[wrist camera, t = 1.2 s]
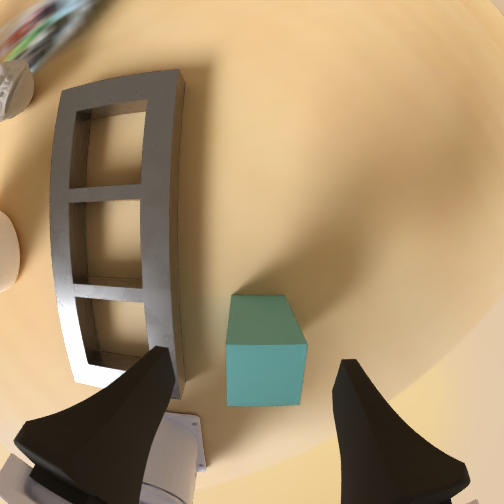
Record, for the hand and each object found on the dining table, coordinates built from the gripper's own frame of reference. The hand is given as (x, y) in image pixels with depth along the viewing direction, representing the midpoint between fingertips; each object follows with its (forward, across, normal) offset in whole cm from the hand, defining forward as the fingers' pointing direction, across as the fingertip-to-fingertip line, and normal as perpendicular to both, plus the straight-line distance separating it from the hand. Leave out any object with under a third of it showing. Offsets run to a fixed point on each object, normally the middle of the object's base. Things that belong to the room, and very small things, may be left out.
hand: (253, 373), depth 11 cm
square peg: (+10, 0, +4) cm, 11 cm away
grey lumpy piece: (+12, +24, -16) cm, 31 cm away
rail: (+10, +11, -2) cm, 15 cm away
